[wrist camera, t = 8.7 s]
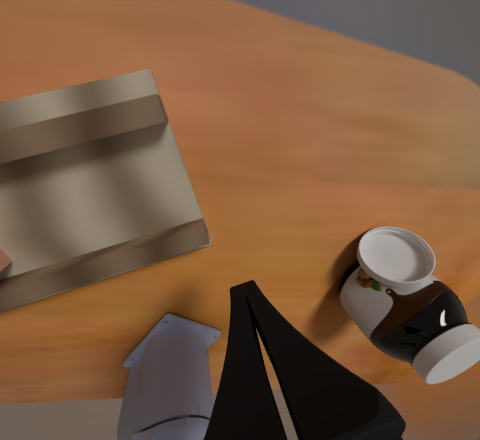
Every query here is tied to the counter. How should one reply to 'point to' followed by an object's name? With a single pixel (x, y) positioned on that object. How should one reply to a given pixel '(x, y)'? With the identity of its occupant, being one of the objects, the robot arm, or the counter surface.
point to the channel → (90, 187)
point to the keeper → (4, 260)
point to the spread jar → (408, 305)
